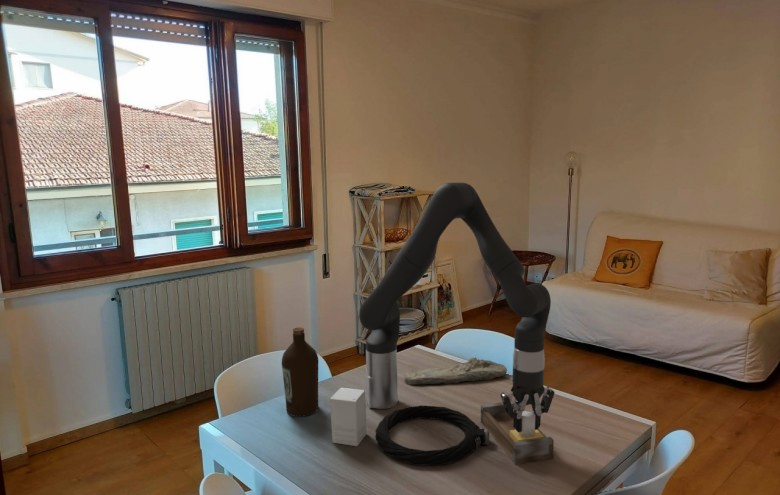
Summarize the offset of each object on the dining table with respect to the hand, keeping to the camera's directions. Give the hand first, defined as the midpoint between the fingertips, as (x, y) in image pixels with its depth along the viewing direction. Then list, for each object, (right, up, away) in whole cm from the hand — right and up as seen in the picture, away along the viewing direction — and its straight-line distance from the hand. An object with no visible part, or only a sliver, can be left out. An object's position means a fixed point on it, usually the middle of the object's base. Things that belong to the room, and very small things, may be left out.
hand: (526, 429), depth 140 cm
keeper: (0, -5, +1) cm, 5 cm away
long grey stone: (-12, +2, +47) cm, 48 cm away
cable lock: (-23, -6, +9) cm, 25 cm away
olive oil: (-60, -3, +26) cm, 66 cm away
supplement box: (-45, -6, +10) cm, 46 cm away
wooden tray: (-1, -5, +7) cm, 9 cm away
